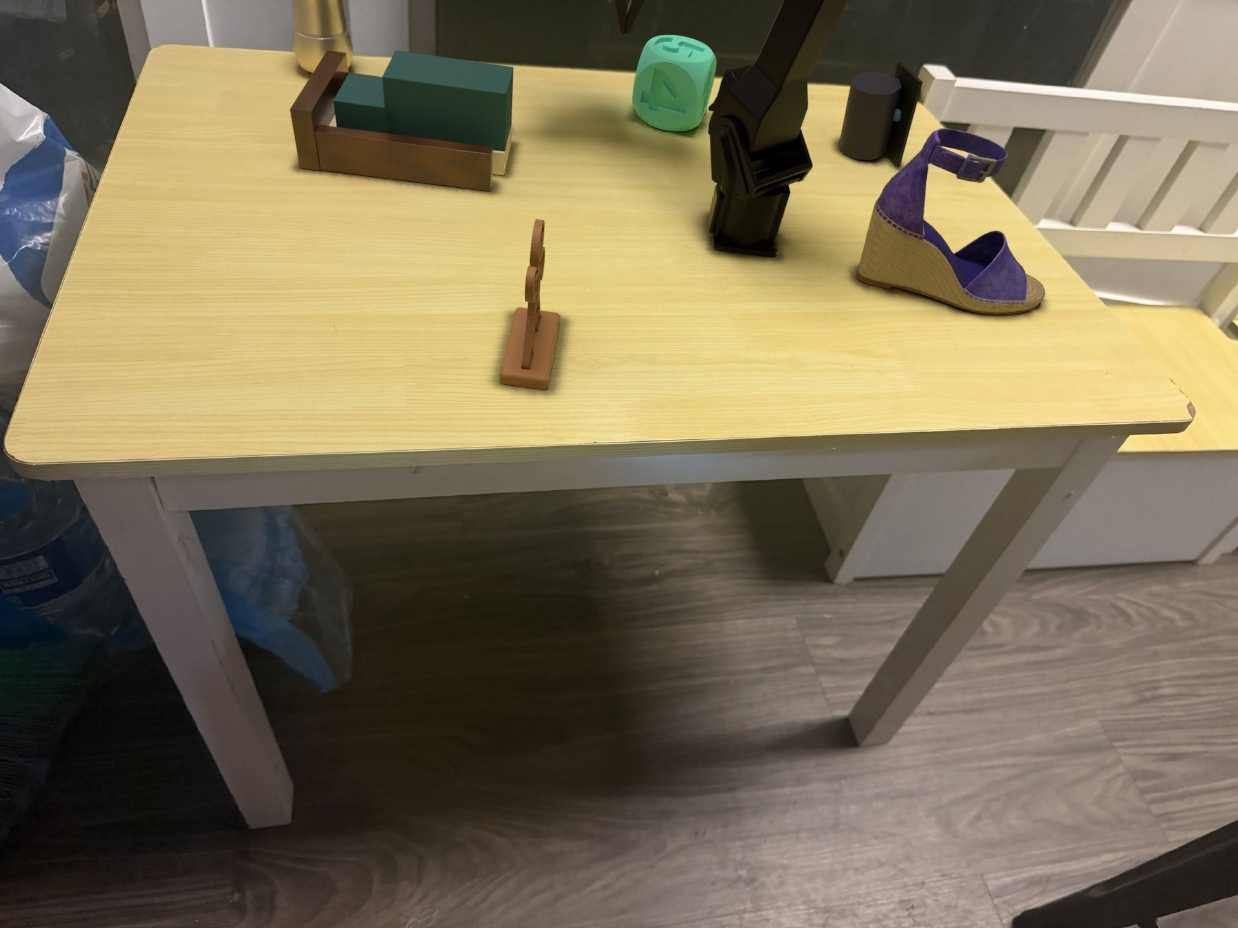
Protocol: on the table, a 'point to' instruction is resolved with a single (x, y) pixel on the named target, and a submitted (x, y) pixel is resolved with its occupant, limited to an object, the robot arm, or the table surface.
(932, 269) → the sandal
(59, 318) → the table surface
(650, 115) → the decorative dice
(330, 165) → the wooden bed frame
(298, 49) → the gold rounded cylinder
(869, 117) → the speaker
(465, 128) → the teal stepped block
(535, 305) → the gingerbread man figurine
